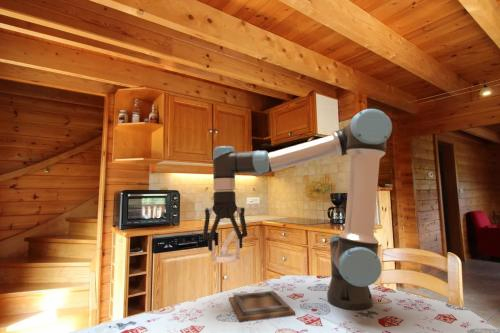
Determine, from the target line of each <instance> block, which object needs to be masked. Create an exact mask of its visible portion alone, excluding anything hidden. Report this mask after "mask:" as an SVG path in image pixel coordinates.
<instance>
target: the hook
mask: <svg viewBox="0 0 500 333" xmlns="http://www.w3.org/2000/svg"><path fill="white" fill-rule="evenodd" d="M236 235H237V234H236V231H235V230H234V229H232V230H231V232H230V233H229V234H228V236H227V238H225V240H224V241H223V243H222V245H221V248H220V250H219V254H215V261H214V263H218V264H222V263H223V264H227V263H234V262H236V261H238V259H237V258H236V253H235V254H234V253H232V252H231V253H229V249H228V247H229V245H230V243H231V242H232V241H233V239H234V237H235V236H236Z"/></svg>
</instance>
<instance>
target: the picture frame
mask: <svg viewBox="0 0 500 333" xmlns="http://www.w3.org/2000/svg"><path fill="white" fill-rule="evenodd" d="M228 301H229V303H230V305H231V307H232V309H233V312H234V314H235V316H236V317H237V320H238V322H239V323H243V322H251V321H258V320H267V319H273V318H276V319H277V318H283V317H291V316H296V311H295V310H294V309H293V308H292V306H290V304H288V303H287V302H286V301H285V300H284V299H283V298H282V297H281V296H280V295H279V294H278V293H277V292H276V291H274V290H268V291H259V292H250V293H238V294H233V296H229V297H228Z"/></svg>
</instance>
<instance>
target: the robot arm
mask: <svg viewBox="0 0 500 333" xmlns="http://www.w3.org/2000/svg"><path fill="white" fill-rule="evenodd" d="M392 131H393V123H392V120H391V119H390V117H389V116H388V115H387V114H386V113H385V112H384V111H382V110H380V109H376V108H367V109H363V110H361V111H359V112H358V113H356V114H355V115H354V116H353V117H352V119H351V120H350V122H349V123H348V125H346V126H345V127H343V128H341V129H338V130H335V131H332V132H331V134H330V135H327V136H324V137H321V138H317V139H313V140H309V141H307V142H303V143H299V144H295V145H292V146H287V147H284V148H282V149H278V150H274V151H270V152H268V151H267V150H258V149H257V150H254V151H253V150H251V151H235V148H234V146H231V145H221V146H220V145H219V146H215V148H214V149H213V152H212V154H213V155H212V163H213V164H212V169H213V175H212V176H213V177H212V178H213V179H212V180H213V191H214V193H213V206H212V207H211V208H205V209H204V215H205V217H204V225H203V231H202V238H203V240H206V241H207V246H208V247H207V248H208V251H209V252H211V261H212V262H215V257H216V249H215V248H216V241H215V240H214V237H215V235H216V230H217V228H218V227H219V223H220V221H221V220H224V219H226V220H227V219H229V220H230V223H231V224H232V227H233V230H234V231H236V234H235V235H236V236H237V237H235V256H236V258H237V260H240V259H241V255H240V254H241V252H240V250H241V249H243V238H245V237H248V230H247V225H246V220H245V210H246V209H245V207H243V206H242V207H241V206H240V207H239V206H237V204H236V203H237V202H236V192H235V190H236V175H237V174H239V175H240V174H250V175H251V176H253V177H262V176H265V175H266V174H270V173H273V172H277V171H281V170H284V169H288V168H291V167H296V166H298V165H303V164H306V163H309V162H314V161H317V160H321V159H325V158H329V157H333V156H339V157H342V156H343V157H344V156H346V155H348V156H349V157H350V164H349V173H348V183H347V184H348V187H347V196H346V197H347V198H346V199H347V200H346V207H345V208H346V209H345V219H344V220H345V221H344V230H343V232H341V233H340V234H338V235H335V234H334V235H331V236H330V238H329V241H330V242H329V245H330V248H329V249H330V269H331V270H330V272H331V274H330V275H331V276H330V277H331V279H330V282H329V286H328V288H327V292H326V297H327V298H326V299H327V301H328V302H329V304H331V305H333V306H335V307H337V308H340V309H345V310H351V311H353V310H354V311H356V310H357V311H359V310H360V311H362V310H367V309H370V308H372V307H373V306H374V305H373V304H374V303H373V301H374V300H373V295H372V293H371V289H370V287H369V286H371V285H373V284H374V283H375V282H377V281H378V280H379V278H380V277H381V273H382V262H381V259H380V258H379V256H378V255H379V240H378V239H377V238H376V236H375V235H374V234H375V222H376V221H375V220H376V210H377V198H378V197H377V195H378V183H379V174H380V172H379V170H380V159H381V158H382V157H383V156H385V155H386V151H387V150H386V148H387V140H388V139H389V138H390V136H391V134H392ZM236 211H237V214H238V216H239V222H240V226H241V230H240V227H239V225H238V223H237V221H236V218H235V215H234V214H235V213H236ZM212 213H214V214H215V218H214V221H213V224H212V227H211V230H210V231H209V226H210V218H211V215H212ZM208 231H209V234H208Z"/></svg>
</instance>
